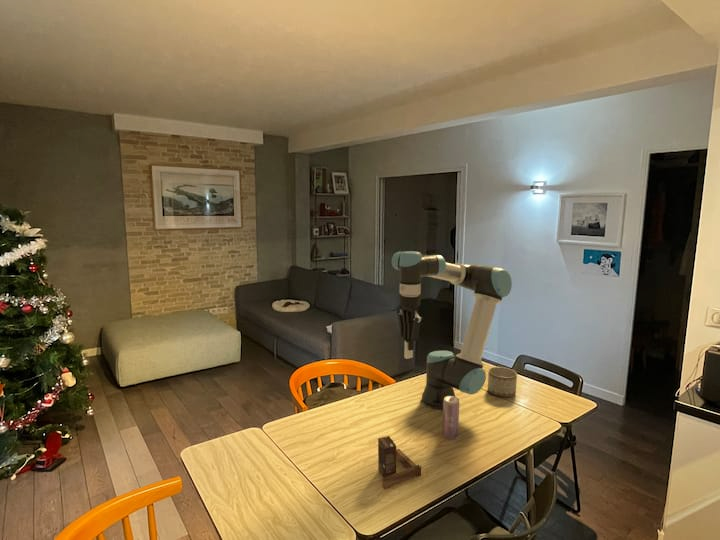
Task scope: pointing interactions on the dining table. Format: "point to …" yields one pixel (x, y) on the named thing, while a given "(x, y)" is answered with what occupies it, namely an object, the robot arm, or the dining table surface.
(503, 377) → the planter
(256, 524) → the dining table surface
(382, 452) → the box
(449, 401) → the beverage can
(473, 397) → the dining table surface
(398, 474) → the corner fence
